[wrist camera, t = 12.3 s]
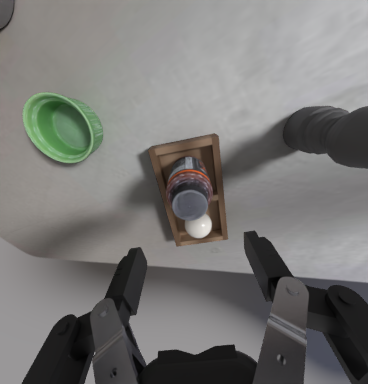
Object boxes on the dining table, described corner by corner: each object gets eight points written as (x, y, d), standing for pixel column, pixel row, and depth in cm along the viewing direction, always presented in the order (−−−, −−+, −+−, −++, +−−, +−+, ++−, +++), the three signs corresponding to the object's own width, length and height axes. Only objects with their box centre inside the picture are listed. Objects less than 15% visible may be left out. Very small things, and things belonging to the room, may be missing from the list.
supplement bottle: (211, 178, 28) (225, 217, 18) (181, 192, 29) (179, 235, 19) (196, 147, 25) (203, 172, 15) (164, 164, 27) (152, 197, 17)
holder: (177, 236, 35) (176, 246, 33) (151, 146, 26) (148, 150, 24) (224, 229, 34) (228, 239, 32) (214, 133, 25) (218, 136, 23)
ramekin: (39, 130, 25) (13, 134, 21) (61, 79, 22) (35, 73, 18) (91, 166, 28) (76, 175, 24) (117, 125, 25) (104, 127, 21)
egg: (187, 227, 33) (187, 246, 28) (182, 207, 31) (182, 224, 26) (211, 224, 32) (215, 242, 28) (208, 203, 30) (212, 219, 26)
